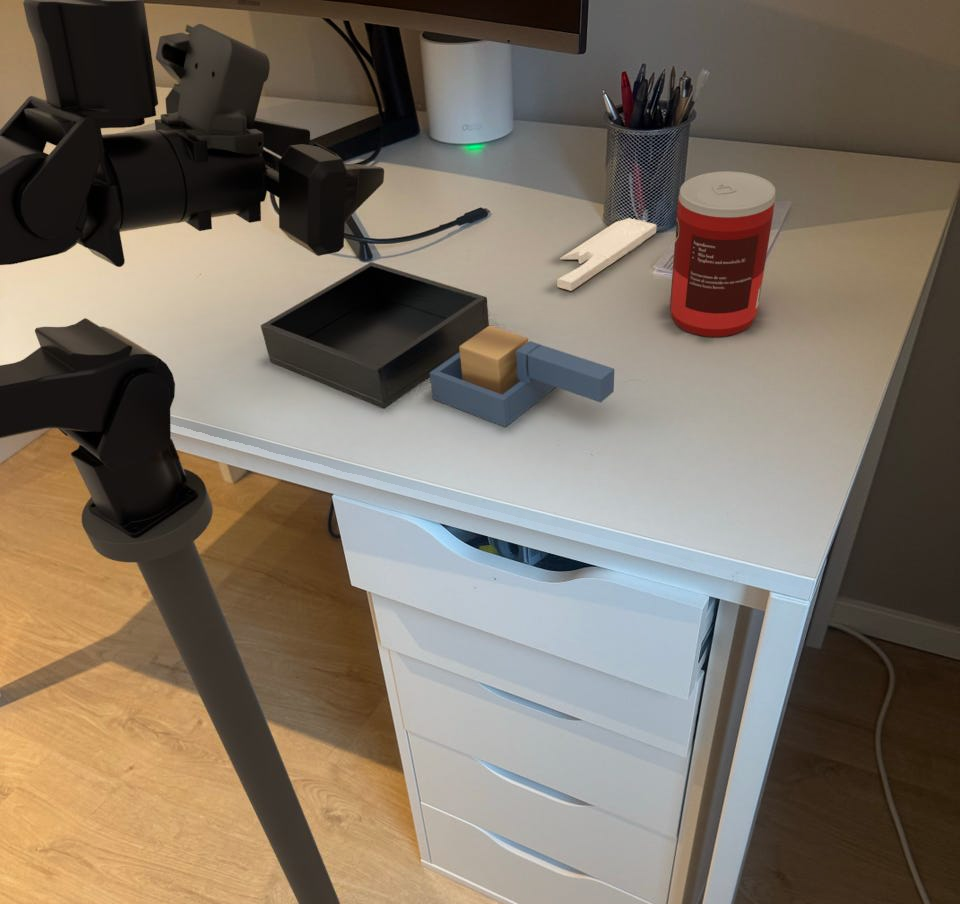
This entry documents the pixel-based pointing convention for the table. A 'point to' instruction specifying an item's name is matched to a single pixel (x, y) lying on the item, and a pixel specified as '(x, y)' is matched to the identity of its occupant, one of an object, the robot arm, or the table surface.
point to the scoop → (522, 383)
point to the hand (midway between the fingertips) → (344, 155)
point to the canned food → (720, 252)
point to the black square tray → (375, 332)
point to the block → (491, 359)
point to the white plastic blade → (605, 250)
